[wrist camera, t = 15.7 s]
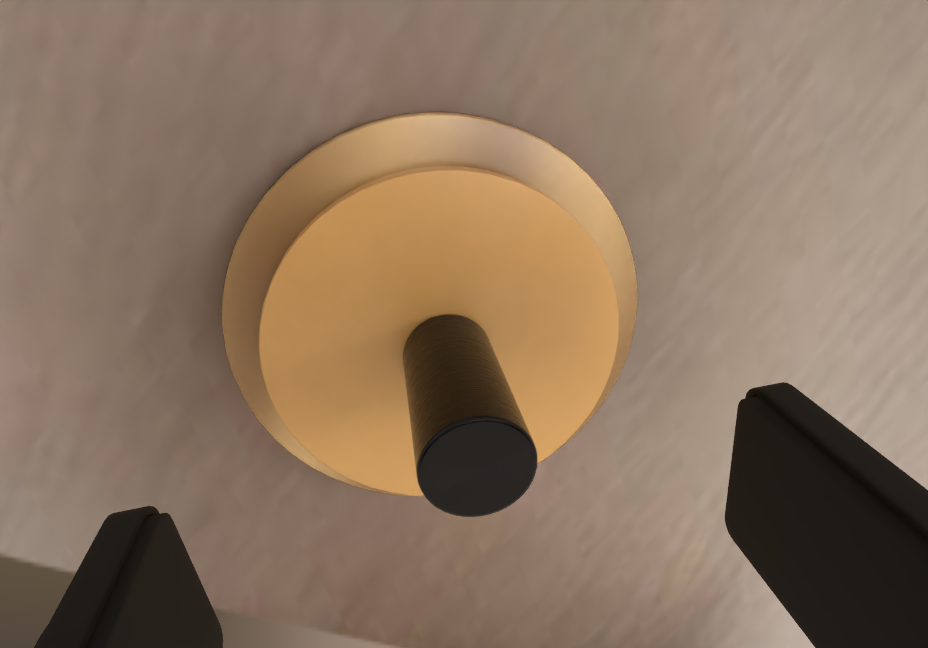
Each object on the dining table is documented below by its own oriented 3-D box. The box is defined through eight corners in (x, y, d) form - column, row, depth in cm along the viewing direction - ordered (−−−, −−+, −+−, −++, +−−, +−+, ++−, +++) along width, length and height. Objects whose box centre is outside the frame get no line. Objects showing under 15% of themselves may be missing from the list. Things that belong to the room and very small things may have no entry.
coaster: (211, 469, 18) (207, 479, 18) (245, 58, 14) (241, 58, 13) (565, 500, 21) (569, 510, 20) (689, 166, 16) (698, 170, 16)
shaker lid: (249, 455, 17) (194, 639, 12) (287, 122, 14) (232, 162, 8) (550, 484, 20) (622, 650, 14) (650, 203, 16) (800, 278, 10)
